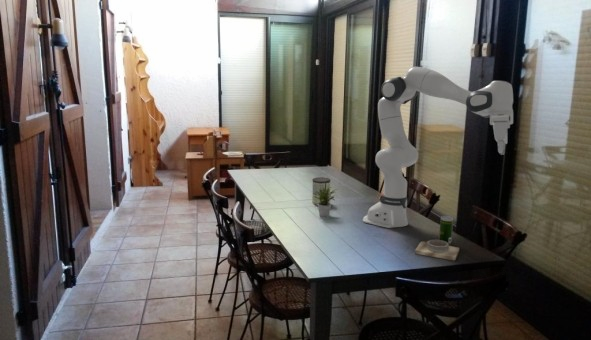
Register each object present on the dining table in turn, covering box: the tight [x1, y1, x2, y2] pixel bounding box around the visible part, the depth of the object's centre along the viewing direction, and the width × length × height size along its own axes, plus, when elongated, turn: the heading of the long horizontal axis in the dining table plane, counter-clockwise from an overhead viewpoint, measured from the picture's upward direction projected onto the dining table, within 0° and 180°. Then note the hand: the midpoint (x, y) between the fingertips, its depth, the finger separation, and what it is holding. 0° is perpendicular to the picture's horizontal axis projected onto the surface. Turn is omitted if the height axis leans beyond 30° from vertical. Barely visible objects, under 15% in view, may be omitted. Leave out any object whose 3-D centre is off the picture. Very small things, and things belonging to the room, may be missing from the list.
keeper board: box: [414, 239, 460, 261], centre depth 198 cm, size 16×12×4 cm
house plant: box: [314, 186, 338, 218], centre depth 245 cm, size 14×14×16 cm
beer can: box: [438, 215, 454, 246], centre depth 208 cm, size 5×5×12 cm
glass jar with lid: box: [311, 177, 331, 206], centre depth 269 cm, size 10×10×14 cm
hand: (501, 153), depth 192 cm, fingers open, 8 cm apart
